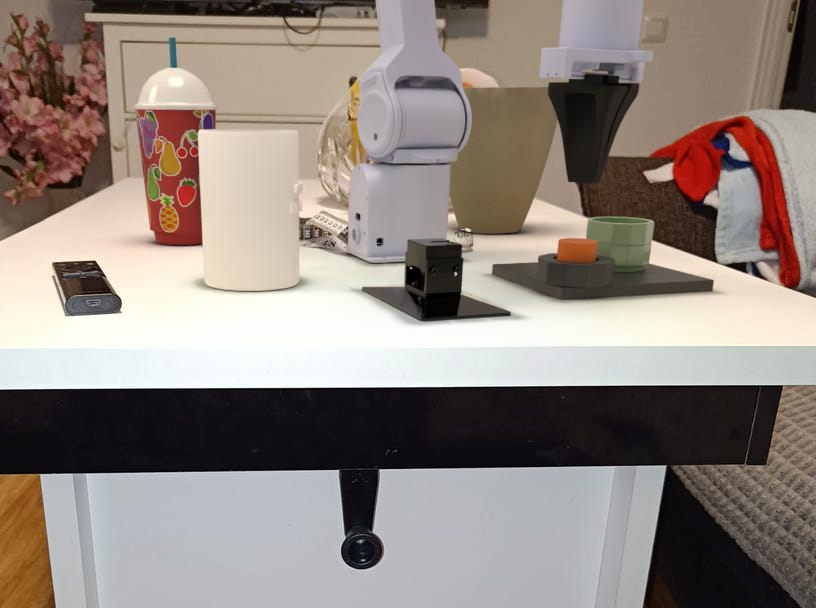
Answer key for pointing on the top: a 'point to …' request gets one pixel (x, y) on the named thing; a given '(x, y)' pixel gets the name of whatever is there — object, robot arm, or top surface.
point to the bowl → (622, 240)
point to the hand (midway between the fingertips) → (583, 182)
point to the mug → (250, 208)
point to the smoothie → (173, 150)
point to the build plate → (434, 285)
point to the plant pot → (501, 157)
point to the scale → (597, 279)
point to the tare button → (577, 250)
